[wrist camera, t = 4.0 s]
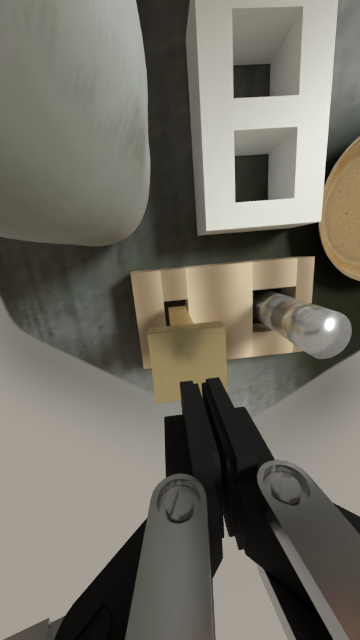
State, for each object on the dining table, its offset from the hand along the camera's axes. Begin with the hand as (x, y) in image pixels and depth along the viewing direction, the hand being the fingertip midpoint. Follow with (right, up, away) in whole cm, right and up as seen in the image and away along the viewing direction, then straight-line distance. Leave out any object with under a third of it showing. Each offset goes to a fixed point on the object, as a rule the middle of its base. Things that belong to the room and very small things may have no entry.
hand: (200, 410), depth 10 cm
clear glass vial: (+9, +6, +17) cm, 20 cm away
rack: (+5, +21, +13) cm, 25 cm away
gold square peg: (-1, +4, +13) cm, 13 cm away
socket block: (+4, +5, +17) cm, 18 cm away
